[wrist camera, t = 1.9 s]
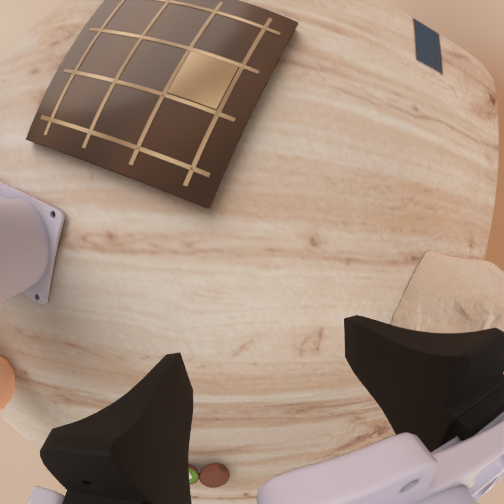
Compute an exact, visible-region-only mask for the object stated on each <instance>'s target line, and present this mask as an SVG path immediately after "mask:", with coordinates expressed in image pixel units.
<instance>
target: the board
mask: <svg viewBox="0 0 504 504" xmlns="http://www.w3.org/2000/svg"><path fill="white" fill-rule="evenodd" d="M297 25H298V22H296V21H293V20H291V19H289V18H286V17H284V16H281V15H279V14H276V13H274V12H271V11H268V10H266V9H263V8H260V7H257V6H254V5H251V4H248V3H245V2H242V1H239V0H105V1H104V2H103V3H102V4H101V6H100V7H99V8H98V9H97V11H96V12H95V13H94V15H93V16H92V17H91V19H90V20H89V21H88V23H87V24H86V26H85V27H84V28H83V30H82V31H81V33H80V34H79V36H78V37H77V39H76V40H75V42H74V43H73V45H72V47H71V48H70V50H69V51H68V53H67V55H66V56H65V58H64V60H63V61H62V63H61V65H60V67H59V68H58V70H57V72H56V74H55V76H54V78H53V80H52V81H51V83H50V85H49V87H48V89H47V91H46V93H45V95H44V97H43V100H42V102H41V104H40V106H39V108H38V111H37V113H36V115H35V118H34V120H33V122H32V125H31V127H30V130H29V132H28V135H27V138H26V140H29V141H31V142H34V143H37V144H40V145H43V146H46V147H48V148H51V149H54V150H57V151H60V152H62V153H65V154H68V155H71V156H73V157H76V158H79V159H81V160H84V161H87V162H90V163H92V164H95V165H98V166H100V167H103V168H106V169H108V170H111V171H114V172H116V173H119V174H121V175H124V176H127V177H129V178H132V179H135V180H137V181H140V182H142V183H145V184H147V185H150V186H153V187H155V188H158V189H160V190H163V191H165V192H168V193H170V194H173V195H175V196H178V197H180V198H183V199H186V200H188V201H191V202H193V203H195V204H198V205H200V206H203V207H205V208H208V209H209V208H210V206H211V204H212V201H213V199H214V196H215V194H216V192H217V189H218V187H219V185H220V182H221V180H222V178H223V176H224V173H225V171H226V169H227V166H228V164H229V162H230V160H231V157H232V155H233V153H234V151H235V149H236V146H237V144H238V142H239V140H240V138H241V135H242V133H243V131H244V129H245V127H246V125H247V123H248V121H249V118H250V116H251V114H252V112H253V110H254V108H255V106H256V104H257V102H258V100H259V98H260V96H261V94H262V92H263V90H264V88H265V86H266V84H267V82H268V80H269V78H270V76H271V74H272V72H273V70H274V68H275V66H276V64H277V62H278V60H279V58H280V57H281V55H282V53H283V51H284V49H285V47H286V45H287V43H288V42H289V40H290V38H291V36H292V34H293V32H294V31H295V29H296V27H297Z"/></svg>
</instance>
